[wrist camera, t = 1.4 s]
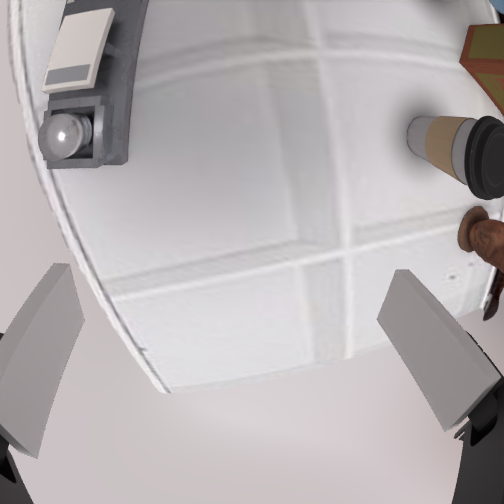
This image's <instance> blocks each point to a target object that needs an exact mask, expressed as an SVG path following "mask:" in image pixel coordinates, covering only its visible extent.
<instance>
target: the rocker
mask: <svg viewBox="0 0 504 504" xmlns="http://www.w3.org/2000/svg"><path fill="white" fill-rule="evenodd" d="M114 15H115V12H114V10H113V8H107V9H100V10H94V11H88V12H83V13H78V14H73V15H69V16H65V18H64V20H63V23H62V25H61V28H60V30H59V33H58V36H57V39H56V42H55V44H54V47H53V50H52V54H51V57H50V60H49V63H48V67H47V70H46V74H45V78H44V82H43V86H42V90H41V91H42V92H44V93H46V94H49V93H55V92H62V91H70V90H78V89H88V88H94V84H95V80H96V76H97V71H98V67H99V63H100V60H101V56H102V52H103V49H104V45H105V42H106V39H107V36H108V33H109V29H110V26H111V23H112V21H113V18H114Z"/></svg>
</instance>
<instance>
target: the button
mask: <svg viewBox="0 0 504 504" xmlns="http://www.w3.org/2000/svg"><path fill="white" fill-rule="evenodd" d="M91 136H92V126H91V123H90V120H89V119H88V118H87V116H85V115H84V114H82V113H79V112H72V113H64V114H57V115H53V116H51V117H49V118H48V119H46V120H45V122H44V123H43V124H42V126H41V128H40V130H39V135H38V144H39V148H40V151H41V153H42V154H43V155H44V156H45V157H46V158H47V159H49V160H52V161H59V160H62V159H64V158H66V157H68V156H71V155H73V154H75V153H78V152H80V151H82V150H83V149H84V148H85V147H86V146H87V145H88V143H89V142H90V139H91Z"/></svg>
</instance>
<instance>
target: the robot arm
mask: <svg viewBox="0 0 504 504" xmlns="http://www.w3.org/2000/svg"><path fill="white" fill-rule="evenodd" d="M489 1H490V3H491V4H492V6H493V7H494V8H495V9H496V10H498V11H499V12H501V13H502V14H504V0H489ZM84 321H85V319H84V316H83V313H82V309H81V306H80V302H79V298H78V295H77V292H76V287H75V284H74V280H73V275H72V271H71V267H70V264H62V263H54V264H53V265H52V266H51V268H50V269H49V270H48V271H47V273H46V274H45V275H44V277H43V278H42V279H41V281H40V282H39V283H38V285H37V286H36V287H35V289H34V290H33V292H32V293H31V294H30V296H29V298H28V299H27V300H26V301H25V303H24V304H23V306H22V307H21V309H20V310H19V312H18V313H17V315H16V316H15V318H14V319H13V321H12V322H11V324H10V326H9V327H8V329H7V330H6V332H5V334H3V333H0V504H34V503H33V501H32V499H31V498H30V495H29V494H28V492H27V489H26V487H25V485H24V483H23V481H22V479H21V477H20V475H19V472H18V469H17V467H16V465H15V462H14V460H13V457H12V455H11V453H10V452H9V450H8V446H9V444H11V445H12V446H13V447H14V448H15V449H16V450H17V451H18V452H20V453H23V454H26V455H28V456H31V457H33V458H36V459H37V458H38V454H39V450H40V446H41V441H42V438H43V434H44V431H45V427H46V424H47V420H48V417H49V413H50V410H51V407H52V404H53V401H54V398H55V395H56V392H57V389H58V386H59V383H60V380H61V378H62V375H63V372H64V369H65V367H66V364H67V362H68V359H69V356H70V354H71V351H72V349H73V347H74V344H75V342H76V339H77V337H78V335H79V332H80V330H81V328H82V326H83V323H84ZM377 321H378V322H379V324H380V325H381V327H382V328H383V330H384V331H385V333H386V335H387V336H388V338H389V339H390V341H391V342H392V344H393V345H394V347H395V349H396V350H397V352H398V353H399V355H400V356H401V358H402V359H403V361H404V363H405V364H406V366H407V367H408V369H409V371H410V372H411V374H412V376H413V377H414V379H415V381H416V382H417V384H418V386H419V387H420V389H421V391H422V392H423V394H424V396H425V398H426V399H427V401H428V403H429V405H430V406H431V408H432V410H433V411H434V413H435V415H436V417H437V419H438V421H439V422H440V424H441V426H442V428H443V430H444V431H445V432H446V431H448V430H450V429H452V428H454V427H456V426H458V425H459V424H460V423H461V422H462V421H463V420H464V419H465V418H466V417H467V416H468V418H469V419H470V420H469V421H468V422H467V423H466V424H465V425H464V426H463V427H462V428H461V429H460V430H459V431H458V432H457V433H456V434H455V436H454V438H455V439H456V438H457V437H458V436H460V435H461V434H462V433H463V432H464V431H465V433H464V434H463V435H462V436H461V437H460V438H459V440H462V441H463V450H462V456H461V462H460V468H459V473H458V478H457V483H456V488H455V492H454V497H453V500H452V504H504V377H503V375H502V374H501V373H500V371H499V370H498V369H497V367H496V366H495V365H494V363H493V362H492V361H491V359H490V358H489V357H488V356H487V354H486V353H485V352H483V349H482V348H481V347H480V346H479V345H477V344H478V343H477V342H476V341H475V340H474V338H473V337H472V336H471V335H470V334H469V333H468V332H466V331H465V330H464V329H463V328H462V327H461V325H459V323H458V322H457V321H456V320H455V319H454V317H453V316H452V315H451V314H450V313H449V312H448V311H447V310H446V308H445V307H444V306H443V305H442V304H441V303H440V302H439V301H438V300H437V299H436V297H435V296H434V295H433V294H432V293H431V292H430V291H429V290H428V289H427V288H426V287H425V286H424V285H423V284H422V283H421V282H420V281H419V280H418V279H417V278H416V276H415V275H414V274H413V273H412V272H411V271H410V270H396V271H395V274H394V276H393V279H392V282H391V284H390V287H389V290H388V292H387V295H386V297H385V300H384V302H383V305H382V307H381V310H380V312H379V315H378V317H377Z"/></svg>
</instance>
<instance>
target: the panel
mask: <svg viewBox="0 0 504 504" xmlns="http://www.w3.org/2000/svg"><path fill="white" fill-rule="evenodd" d="M148 1H149V0H67V1H66V5H65V9H64V12H63V16H62V20H61V25H62V23H63V20H64V18H65V16H69V15H73V14H78V13H83V12H88V11H94V10H100V9H107V8H113V10H114V12H115V15H114V18H113V21H112V23H111V26H110V29H109V33H108V36H107V39H106V42H105V45H104V49H103V52H102V56H101V60H100V63H99V67H98V71H97V76H96V80H95V84H94V88H88V89H78V90H70V91H62V92H55V93H50V95H49V102H48V111H44V122H45V120H46V119H48V118H49V117H51V116H53V115H57V114H64V113H72V112H79V113H82V114H84V115H85V116H87V118H88V119H89V120H90V123H91V126H92V136H91V139H90V142H89V143H88V145H87V146H86V147H85V148H84V149H83V150H82V151H80V152H78V153H75V154H73V155H71V156H68V157H66V158H64V159H62V160H59V161H52V160H49V159H47V158H46V157H45V156H44V155H43V160H47V169H66V168H98V167H100V166H102V165H123V164H124V163H125V162H127V161H128V142H129V126H130V113H131V102H132V93H133V84H134V76H135V69H136V62H137V56H138V50H139V44H140V38H141V33H142V28H143V23H144V19H145V14H146V10H147V5H148ZM61 25H60V28H61ZM59 30H60V29H59Z"/></svg>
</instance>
